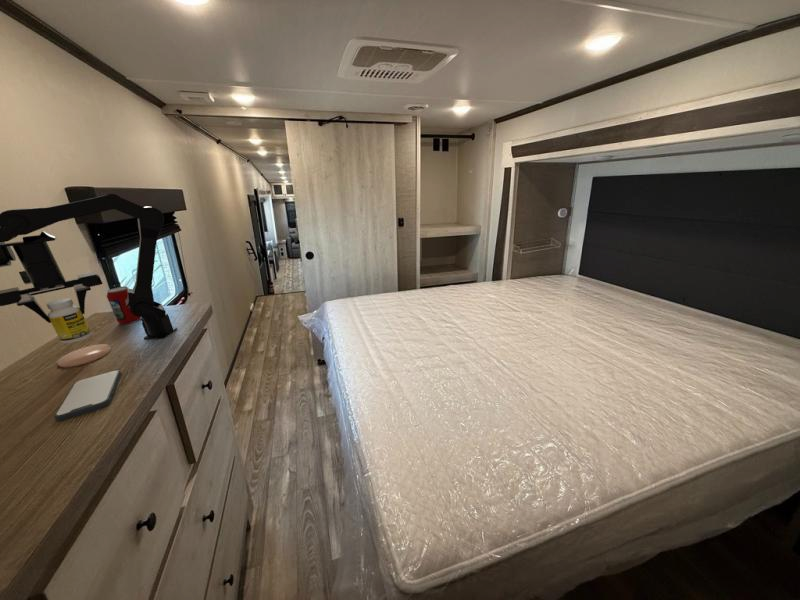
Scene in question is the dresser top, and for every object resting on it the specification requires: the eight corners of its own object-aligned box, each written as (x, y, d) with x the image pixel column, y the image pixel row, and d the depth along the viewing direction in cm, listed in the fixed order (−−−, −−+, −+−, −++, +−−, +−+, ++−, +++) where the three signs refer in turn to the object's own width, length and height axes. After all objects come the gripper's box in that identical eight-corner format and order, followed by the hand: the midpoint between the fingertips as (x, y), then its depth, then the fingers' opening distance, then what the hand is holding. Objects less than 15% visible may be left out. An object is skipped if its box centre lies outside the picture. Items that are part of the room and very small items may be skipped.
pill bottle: (77, 343, 84) (57, 305, 79) (54, 344, 84) (34, 306, 80) (98, 332, 89) (81, 296, 85) (77, 333, 90) (59, 297, 86)
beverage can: (117, 321, 111) (103, 290, 107) (140, 315, 116) (128, 284, 111) (120, 327, 107) (105, 293, 102) (144, 320, 111) (131, 288, 107)
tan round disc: (121, 345, 94) (120, 343, 93) (86, 366, 83) (85, 363, 83) (85, 347, 94) (84, 345, 94) (46, 368, 84) (45, 365, 83)
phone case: (77, 386, 76) (54, 425, 63) (74, 381, 75) (50, 418, 63) (123, 373, 80) (111, 407, 67) (121, 368, 80) (108, 400, 67)
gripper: (84, 250, 90) (106, 300, 96) (-18, 266, 77) (15, 323, 83) (90, 254, 83) (113, 308, 89) (-21, 272, 70) (15, 334, 76)
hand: (67, 317), depth 84 cm, fingers closed on pill bottle, 6 cm apart
